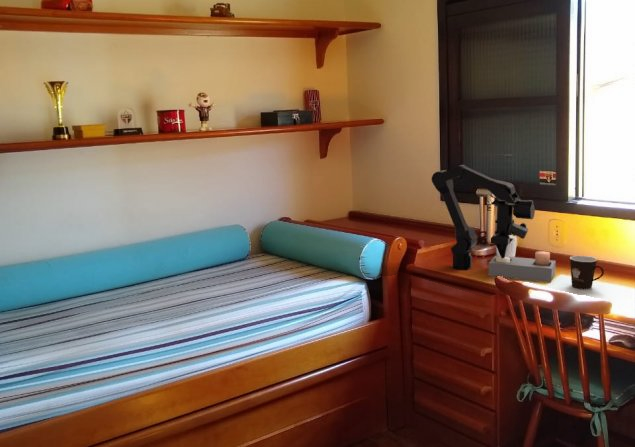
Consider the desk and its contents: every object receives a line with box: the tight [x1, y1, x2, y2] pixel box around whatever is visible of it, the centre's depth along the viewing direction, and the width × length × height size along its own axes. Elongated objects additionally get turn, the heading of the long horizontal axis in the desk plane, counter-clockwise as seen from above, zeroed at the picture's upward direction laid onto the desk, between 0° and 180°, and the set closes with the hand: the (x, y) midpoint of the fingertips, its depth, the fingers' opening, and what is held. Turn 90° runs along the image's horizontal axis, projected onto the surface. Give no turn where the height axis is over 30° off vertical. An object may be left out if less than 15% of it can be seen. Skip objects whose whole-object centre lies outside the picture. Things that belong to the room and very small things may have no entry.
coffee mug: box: [569, 255, 605, 290], centre depth 219 cm, size 12×9×10 cm
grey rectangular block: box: [488, 254, 556, 283], centre depth 237 cm, size 22×12×5 cm, turn 64°
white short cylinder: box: [496, 256, 510, 263], centre depth 240 cm, size 5×5×4 cm
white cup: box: [495, 235, 518, 257], centre depth 256 cm, size 8×8×10 cm
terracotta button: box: [534, 250, 551, 266], centre depth 233 cm, size 5×5×4 cm
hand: (502, 257), depth 239 cm, fingers closed, pressing on white short cylinder
